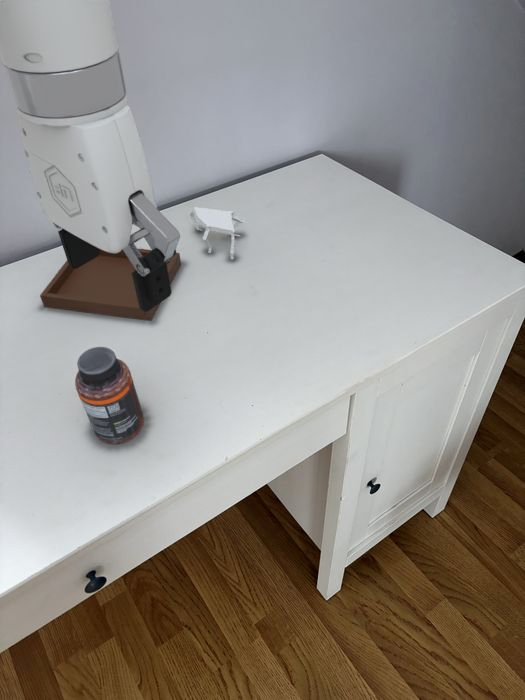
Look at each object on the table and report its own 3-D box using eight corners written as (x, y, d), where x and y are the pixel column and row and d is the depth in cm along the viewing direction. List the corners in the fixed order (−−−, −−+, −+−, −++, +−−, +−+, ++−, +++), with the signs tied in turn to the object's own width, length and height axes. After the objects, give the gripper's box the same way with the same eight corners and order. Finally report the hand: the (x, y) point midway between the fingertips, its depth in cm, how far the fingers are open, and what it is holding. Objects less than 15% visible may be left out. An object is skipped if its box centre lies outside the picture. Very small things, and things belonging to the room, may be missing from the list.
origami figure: (260, 238, 93) (259, 212, 90) (231, 265, 88) (229, 238, 85) (202, 219, 98) (199, 193, 95) (171, 243, 93) (167, 217, 90)
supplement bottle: (119, 398, 70) (97, 331, 62) (155, 419, 67) (137, 352, 59) (82, 431, 66) (55, 365, 58) (119, 455, 64) (95, 388, 56)
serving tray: (44, 307, 82) (39, 295, 81) (84, 253, 92) (80, 242, 90) (151, 321, 80) (148, 309, 78) (181, 264, 89) (179, 252, 87)
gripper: (-47, 72, 41) (28, 265, 53) (106, 134, 33) (153, 345, 45) (41, 45, 45) (92, 230, 57) (197, 94, 37) (218, 298, 49)
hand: (119, 280), depth 51 cm, fingers open, 9 cm apart
